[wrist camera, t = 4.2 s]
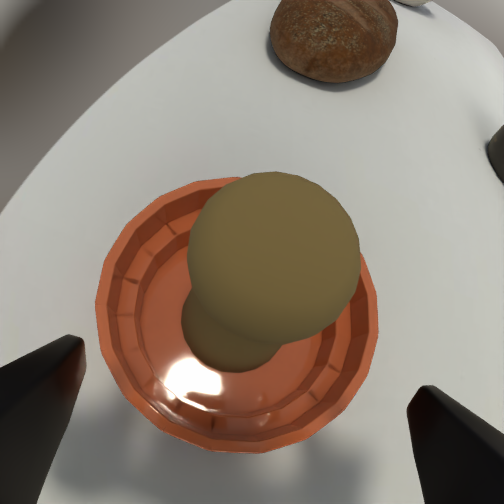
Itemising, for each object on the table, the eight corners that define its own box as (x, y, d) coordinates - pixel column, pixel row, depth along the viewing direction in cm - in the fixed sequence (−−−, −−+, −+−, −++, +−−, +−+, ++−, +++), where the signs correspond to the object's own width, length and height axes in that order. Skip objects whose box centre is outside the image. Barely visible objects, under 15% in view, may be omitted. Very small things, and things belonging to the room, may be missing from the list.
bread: (391, 25, 45) (408, -7, 37) (371, 117, 29) (408, 55, 21) (316, -9, 45) (328, -42, 37) (232, 56, 29) (245, -12, 22)
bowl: (248, 481, 15) (266, 506, 11) (73, 323, 16) (42, 303, 12) (376, 310, 20) (415, 290, 16) (223, 183, 22) (232, 139, 18)
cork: (275, 383, 17) (385, 370, 7) (168, 357, 16) (134, 311, 7) (294, 285, 20) (391, 178, 10) (197, 258, 19) (210, 119, 9)
